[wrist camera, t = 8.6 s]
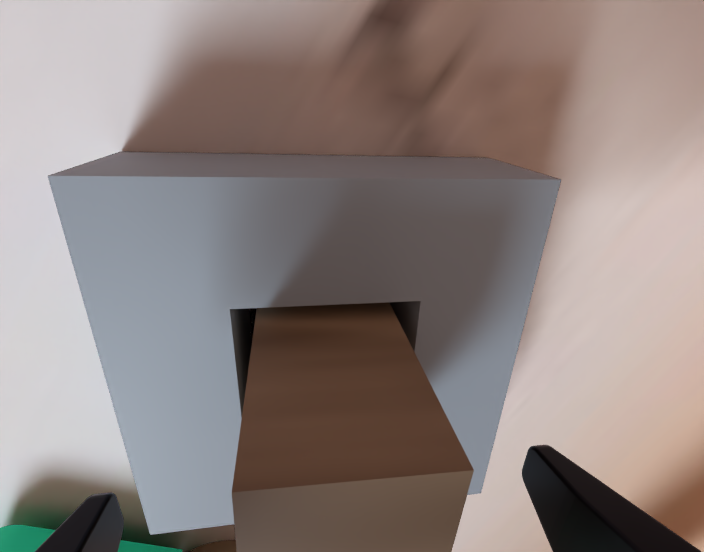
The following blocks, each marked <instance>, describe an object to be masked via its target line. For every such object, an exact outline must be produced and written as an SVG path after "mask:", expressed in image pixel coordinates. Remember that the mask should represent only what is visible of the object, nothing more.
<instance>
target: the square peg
mask: <svg viewBox="0 0 704 552" xmlns="http://www.w3.org/2000/svg"><path fill="white" fill-rule="evenodd" d="M473 472H474V469H473V467H472V465H471V463H470V461H469V459H468V457H467V455H466V453H465V451H464V449H463V447H462V445H461V444H460V442H459V440H458V438H457V436H456V434H455V432H454V430H453V428H452V426H451V424H450V422H449V420H448V418H447V416H446V414H445V412H444V410H443V408H442V406H441V404H440V402H439V400H438V398H437V396H436V394H435V392H434V390H433V388H432V386H431V384H430V382H429V380H428V378H427V376H426V374H425V372H424V370H423V368H422V366H421V364H420V362H419V360H418V358H417V356H416V354H415V352H414V350H413V348H412V346H411V344H410V342H409V340H408V339H407V337H406V335H405V333H404V331H403V329H402V327H401V325H400V323H399V321H398V319H397V317H396V315H395V313H394V311H393V309H392V307H391V305H390V303H389V302H385V303H362V304H338V305H315V306H292V307H269V308H257V310H256V317H255V325H254V332H253V339H252V347H251V354H250V361H249V369H248V376H247V383H246V391H245V398H244V405H243V413H242V420H241V427H240V435H239V442H238V449H237V457H236V464H235V471H234V479H233V486H232V503H233V515H234V526H235V538H236V550H237V552H451V551H452V547H453V544H454V540H455V536H456V533H457V529H458V526H459V522H460V519H461V515H462V511H463V508H464V504H465V501H466V497H467V493H468V490H469V486H470V483H471V479H472V476H473Z"/></svg>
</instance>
